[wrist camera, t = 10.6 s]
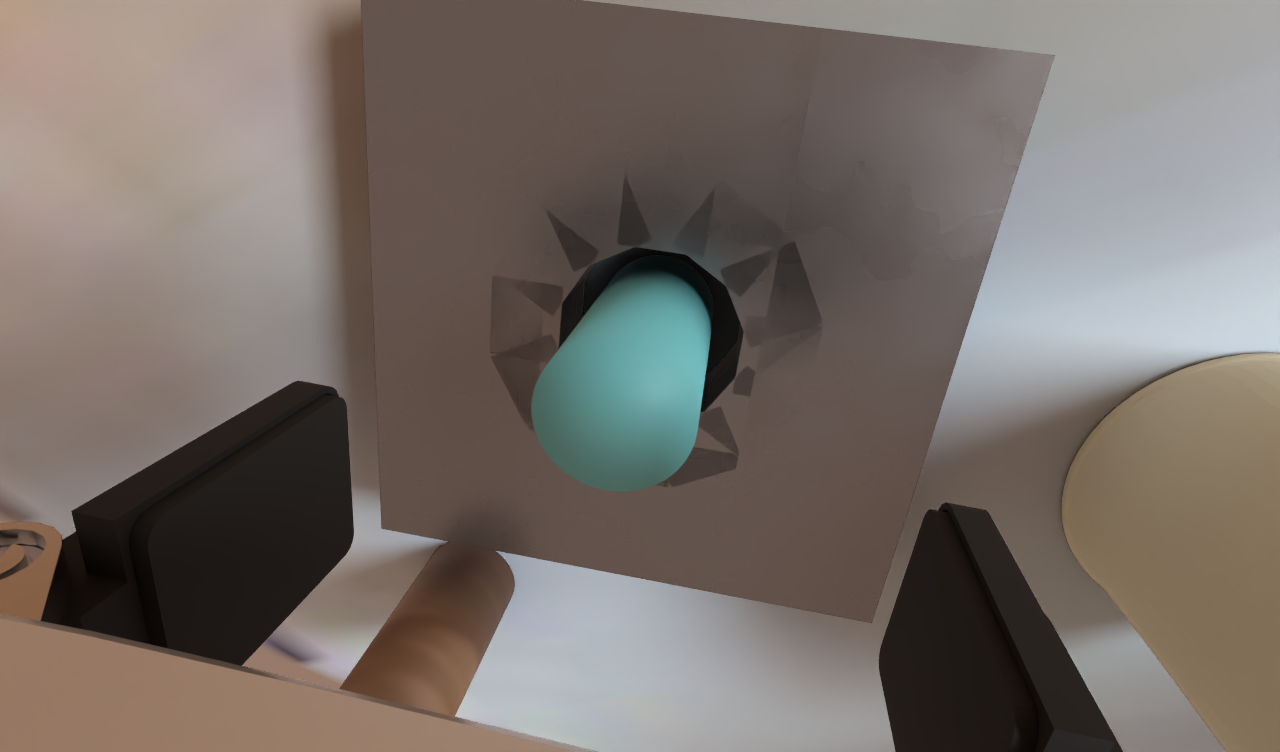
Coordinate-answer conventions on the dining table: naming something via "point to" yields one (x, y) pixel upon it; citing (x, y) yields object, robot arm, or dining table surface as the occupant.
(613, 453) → the teal peg
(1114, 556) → the can
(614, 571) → the socket plate
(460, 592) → the walnut peg
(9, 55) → the dining table surface
